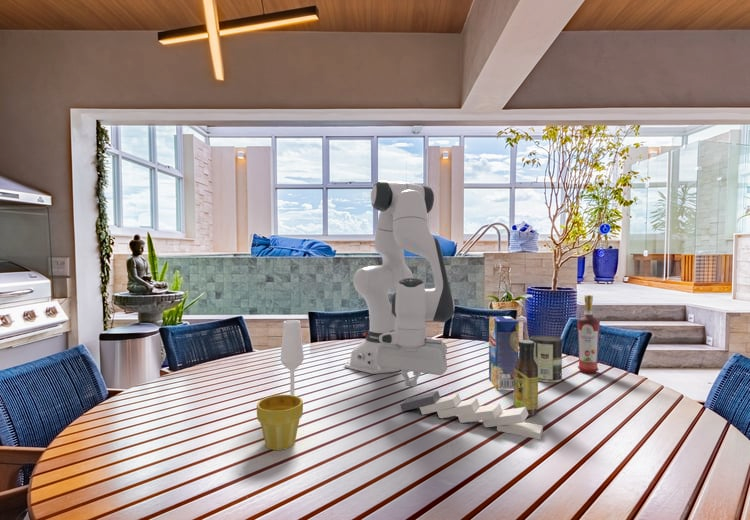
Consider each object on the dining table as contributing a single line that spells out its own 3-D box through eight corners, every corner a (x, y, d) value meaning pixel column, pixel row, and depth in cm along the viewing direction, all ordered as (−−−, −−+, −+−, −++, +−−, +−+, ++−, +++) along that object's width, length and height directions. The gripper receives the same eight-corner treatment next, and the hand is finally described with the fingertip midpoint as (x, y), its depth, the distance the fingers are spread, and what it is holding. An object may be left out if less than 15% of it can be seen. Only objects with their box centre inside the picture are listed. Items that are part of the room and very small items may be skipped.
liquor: (600, 370, 154) (600, 295, 153) (598, 375, 148) (599, 297, 147) (578, 367, 158) (578, 294, 157) (575, 372, 152) (576, 296, 151)
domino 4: (457, 415, 108) (492, 410, 102) (466, 408, 112) (499, 403, 106) (460, 422, 108) (495, 418, 102) (468, 415, 112) (502, 411, 106)
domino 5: (482, 419, 105) (520, 414, 99) (489, 412, 109) (525, 406, 104) (484, 427, 105) (523, 422, 99) (491, 419, 109) (528, 414, 103)
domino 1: (400, 404, 116) (432, 396, 112) (406, 398, 120) (437, 390, 116) (402, 411, 116) (434, 403, 112) (408, 405, 120) (440, 397, 116)
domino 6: (497, 425, 103) (540, 433, 99) (501, 418, 108) (542, 425, 103) (497, 433, 103) (540, 441, 99) (501, 425, 108) (542, 433, 103)
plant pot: (280, 459, 89) (280, 414, 89) (247, 447, 95) (246, 404, 95) (312, 440, 98) (311, 399, 98) (280, 430, 104) (279, 391, 103)
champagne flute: (308, 402, 123) (308, 321, 122) (289, 408, 118) (289, 324, 117) (295, 397, 127) (294, 318, 127) (276, 403, 122) (275, 321, 122)
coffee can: (554, 373, 151) (555, 335, 150) (567, 382, 140) (567, 341, 140) (526, 373, 151) (526, 334, 150) (536, 382, 140) (536, 341, 140)
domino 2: (419, 407, 113) (452, 399, 109) (426, 401, 118) (458, 393, 113) (422, 414, 113) (455, 406, 109) (428, 408, 117) (460, 400, 113)
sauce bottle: (510, 408, 118) (510, 338, 117) (532, 408, 118) (533, 338, 117) (518, 417, 111) (518, 343, 111) (541, 417, 111) (542, 343, 111)
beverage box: (509, 379, 144) (509, 316, 143) (518, 390, 133) (518, 321, 132) (488, 379, 144) (489, 316, 144) (496, 390, 133) (497, 321, 133)
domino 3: (436, 411, 111) (471, 404, 106) (443, 405, 115) (476, 398, 111) (439, 418, 111) (474, 411, 106) (445, 412, 115) (479, 405, 110)
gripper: (450, 338, 115) (450, 388, 115) (383, 331, 124) (383, 378, 124) (443, 342, 109) (443, 395, 109) (373, 335, 118) (373, 384, 119)
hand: (410, 386), depth 117 cm, fingers closed
